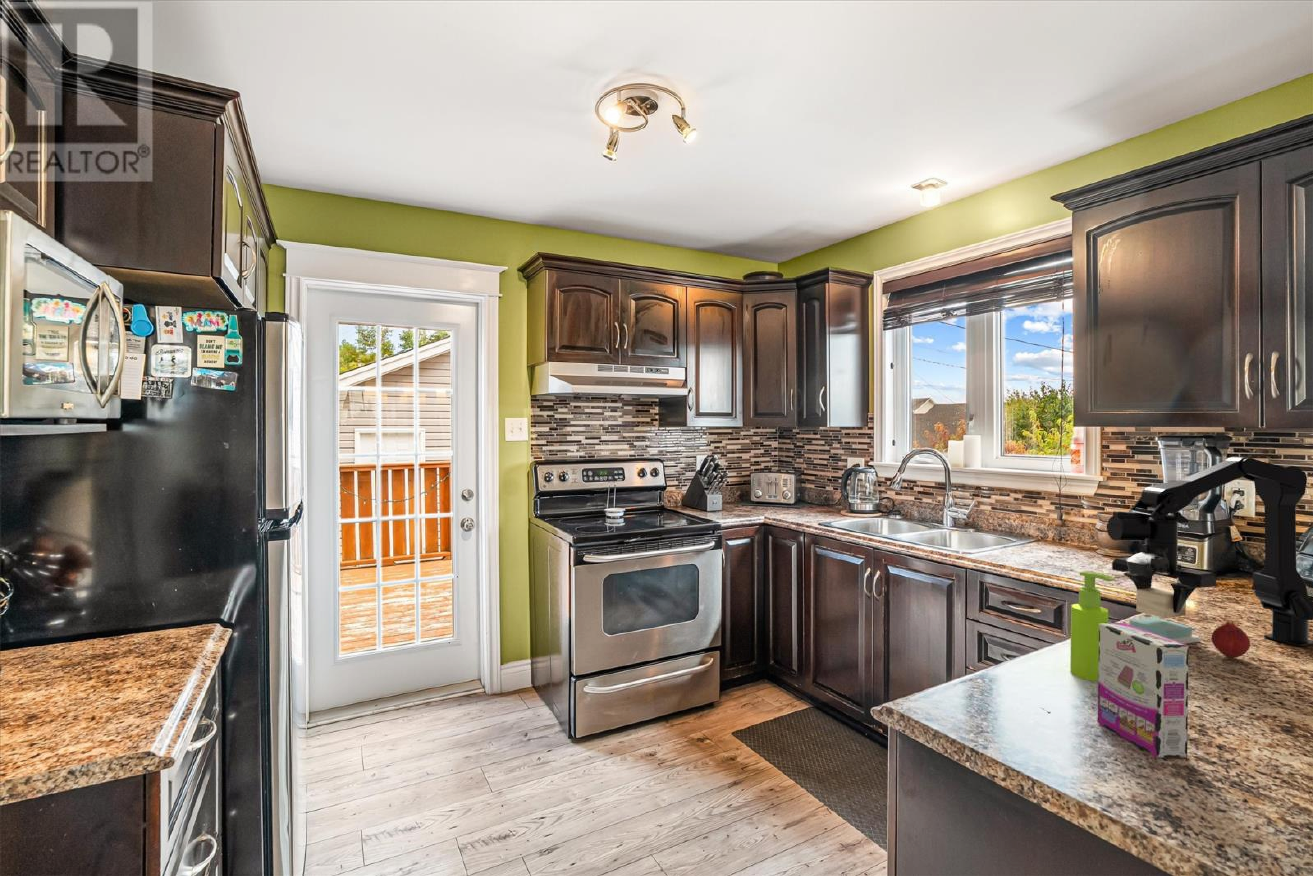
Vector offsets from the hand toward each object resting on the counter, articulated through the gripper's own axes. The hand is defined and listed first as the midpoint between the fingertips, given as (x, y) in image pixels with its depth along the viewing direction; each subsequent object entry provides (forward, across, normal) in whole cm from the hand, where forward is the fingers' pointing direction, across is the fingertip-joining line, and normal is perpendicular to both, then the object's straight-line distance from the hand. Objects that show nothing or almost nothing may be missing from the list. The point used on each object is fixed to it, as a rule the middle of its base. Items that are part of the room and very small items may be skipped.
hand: (1160, 608), depth 140 cm
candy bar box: (+6, +32, -55) cm, 64 cm away
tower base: (+6, 0, 0) cm, 6 cm away
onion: (+7, +14, -1) cm, 16 cm away
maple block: (+1, 0, 0) cm, 1 cm away
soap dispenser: (+7, +12, -38) cm, 40 cm away
